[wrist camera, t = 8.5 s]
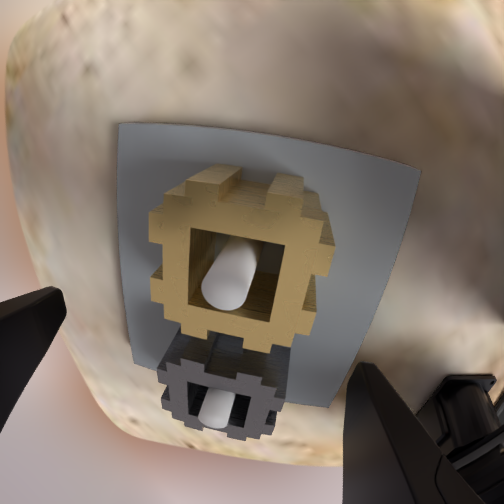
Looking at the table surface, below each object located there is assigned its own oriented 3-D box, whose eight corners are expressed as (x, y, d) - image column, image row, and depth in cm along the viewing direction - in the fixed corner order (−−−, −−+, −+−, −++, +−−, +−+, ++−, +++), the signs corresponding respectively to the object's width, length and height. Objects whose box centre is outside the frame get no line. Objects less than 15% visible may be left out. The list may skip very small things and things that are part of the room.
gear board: (410, 165, 13) (473, 198, 7) (328, 392, 21) (327, 465, 15) (133, 122, 15) (51, 133, 9) (141, 351, 22) (104, 410, 16)
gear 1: (333, 183, 13) (345, 208, 9) (303, 307, 16) (301, 359, 12) (189, 159, 14) (149, 175, 10) (182, 282, 16) (153, 325, 13)
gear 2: (295, 330, 17) (291, 382, 13) (274, 399, 20) (267, 445, 16) (181, 306, 17) (154, 350, 14) (183, 378, 20) (164, 419, 17)
